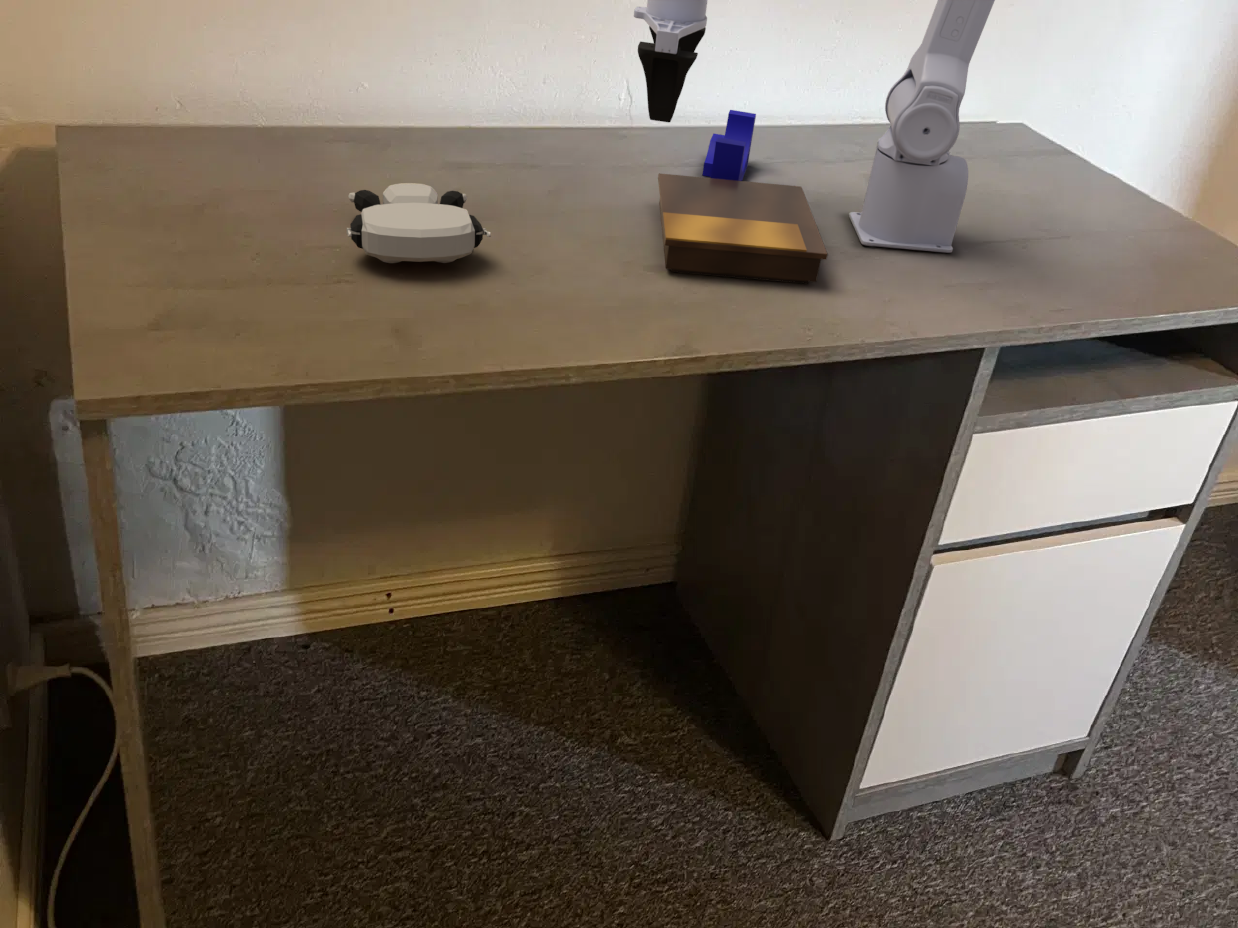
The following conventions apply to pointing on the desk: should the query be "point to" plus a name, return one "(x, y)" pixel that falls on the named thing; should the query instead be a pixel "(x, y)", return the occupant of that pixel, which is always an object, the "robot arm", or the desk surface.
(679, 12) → the robot arm
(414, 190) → the robot toy
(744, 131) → the cable clip
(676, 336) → the desk surface
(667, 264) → the walnut stand
